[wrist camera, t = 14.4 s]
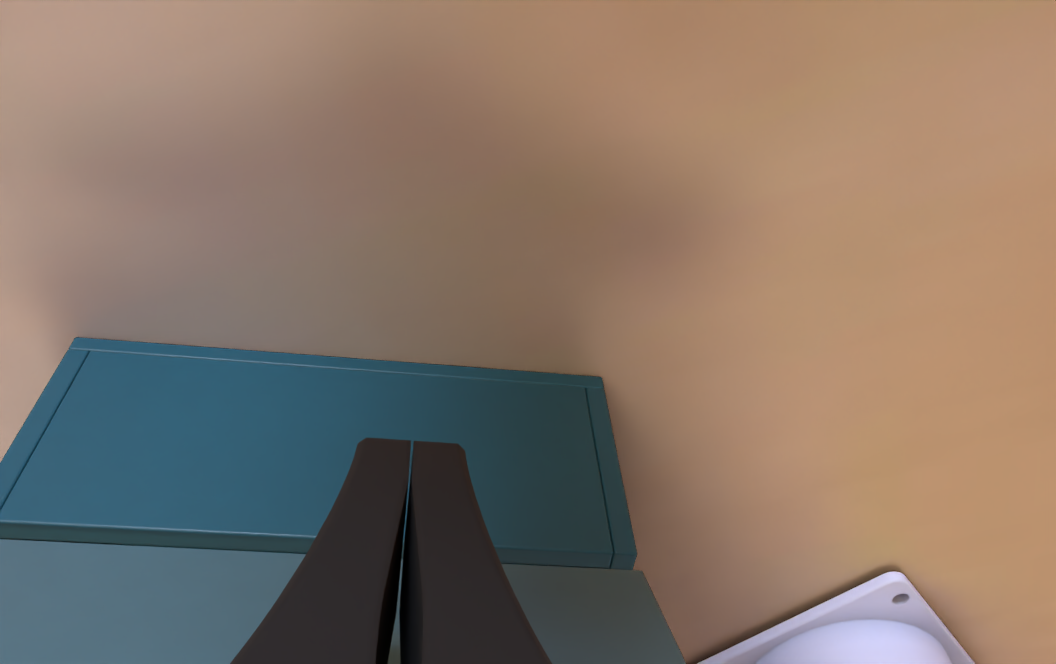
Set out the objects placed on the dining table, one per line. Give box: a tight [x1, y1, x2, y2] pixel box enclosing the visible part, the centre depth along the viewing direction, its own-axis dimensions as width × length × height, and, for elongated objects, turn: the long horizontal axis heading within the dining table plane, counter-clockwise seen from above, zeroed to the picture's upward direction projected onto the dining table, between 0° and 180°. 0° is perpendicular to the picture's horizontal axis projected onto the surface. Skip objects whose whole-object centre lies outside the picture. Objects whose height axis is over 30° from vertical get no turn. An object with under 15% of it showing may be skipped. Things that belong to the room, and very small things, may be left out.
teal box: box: [0, 337, 637, 570], centre depth 24 cm, size 14×13×7 cm
